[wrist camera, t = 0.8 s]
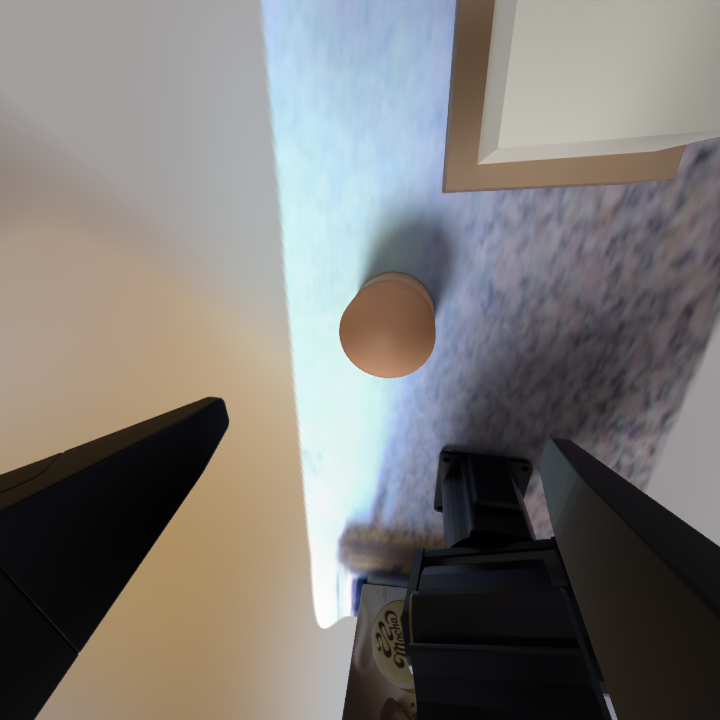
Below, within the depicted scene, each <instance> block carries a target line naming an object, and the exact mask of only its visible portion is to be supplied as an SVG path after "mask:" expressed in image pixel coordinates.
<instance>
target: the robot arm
mask: <svg viewBox="0 0 720 720" xmlns="http://www.w3.org/2000/svg"><path fill="white" fill-rule="evenodd" d="M228 426H229V418H228V414H227V409H226V405H225V402H224V400H223V399H222V398H217V397H206V398H204V399H201V400H199V401H196V402H193V403H191V404H188V405H185V406H183V407H180V408H177V409H175V410H172V411H169V412H167V413H164V414H162V415H159V416H156V417H154V418H151V419H148V420H146V421H143V422H140V423H138V424H135V425H132V426H130V427H127V428H125V429H122V430H119V431H117V432H114V433H112V434H109V435H106V436H103V437H101V438H98V439H96V440H93V441H90V442H88V443H85V444H83V445H80V446H77V447H75V448H72V449H69V450H67V451H65V452H64V453H58V454H56V455H53V456H50V457H48V458H45V459H43V460H40V461H37V462H34V463H32V464H29V465H26V466H23V467H21V468H18V469H15V470H13V471H10V472H7V473H4V474H1V475H0V720H34V719H35V718H36V717H37V715H38V713H39V712H40V711H41V709H42V708H43V706H44V705H45V703H46V702H47V700H48V699H49V698H50V696H51V695H52V693H53V692H54V690H55V689H56V687H57V686H58V684H59V683H60V681H61V680H62V678H63V677H64V676H65V674H66V673H67V671H68V669H69V668H70V667H71V665H72V664H73V662H74V661H75V659H76V658H77V656H78V653H79V652H80V651H81V650H82V649H83V647H84V646H85V644H86V643H87V641H88V640H89V639H90V637H91V636H92V634H93V633H94V631H95V630H96V628H97V627H98V625H99V624H100V622H101V621H102V620H103V618H104V617H105V615H106V614H107V612H108V611H109V609H110V608H111V606H112V605H113V603H114V602H115V600H116V599H117V597H118V596H119V594H120V593H121V592H122V590H123V589H124V587H125V586H126V584H127V583H128V582H129V580H130V578H131V577H132V576H133V574H134V573H135V571H136V570H137V568H138V567H139V565H140V564H141V563H142V561H143V559H144V558H145V557H146V555H147V554H148V552H149V551H150V549H151V548H152V546H153V545H154V543H155V542H156V541H157V539H158V537H159V536H160V535H161V533H162V532H163V530H164V529H165V527H166V526H167V524H168V523H169V522H170V520H171V519H172V517H173V516H174V514H175V513H176V511H177V510H178V508H179V507H180V505H181V504H182V502H183V501H184V500H185V498H186V497H187V495H188V494H189V492H190V491H191V489H192V488H193V486H194V485H195V484H196V482H197V481H198V479H199V478H200V476H201V475H202V473H203V471H204V470H205V468H206V466H207V465H208V463H209V461H210V459H211V457H212V456H213V454H214V452H215V450H216V448H217V447H218V445H219V443H220V441H221V439H222V438H223V436H224V434H225V432H226V430H227V428H228ZM444 457H448V458H444ZM523 466H526V467H523ZM539 469H540V475H541V479H542V484H543V488H544V493H545V497H546V502H547V506H548V511H549V515H550V520H551V524H552V528H553V531H554V535H555V537H551V539H541V540H536V537H535V534H534V530H533V527H532V524H531V521H530V518H529V515H528V512H527V509H526V506H525V503H524V500H523V499H524V496H525V492H526V489H527V486H528V483H529V480H530V476H531V473H532V470H533V467H532V465H531V463H530V461H528V460H525V459H516V458H507V457H498V456H488V455H479V454H470V453H461V452H452V451H443V452H441V453H440V455H439V463H438V472H437V480H436V489H435V498H434V509H435V510H436V511H438V512H443V522H444V541H445V548H441V549H430V550H425V549H416V552H415V557H414V561H413V564H412V569H411V573H410V578H409V583H408V587H407V592H406V597H405V601H404V606H403V611H402V615H401V624H402V628H401V637H402V640H403V642H404V647H405V654H406V658H407V662H408V666H409V669H410V672H411V674H412V676H413V678H414V686H415V695H416V707H417V720H612V718H611V716H610V713H609V710H608V707H607V705H606V701H605V699H604V696H609V697H610V699H611V702H612V704H613V707H614V710H615V713H616V716H617V719H618V720H720V547H719V546H718V545H717V544H715V543H714V542H712V541H711V540H710V539H708V538H707V537H705V536H704V535H703V534H701V533H700V532H698V531H697V530H695V529H694V528H693V527H691V526H690V525H688V524H687V523H686V522H684V521H683V520H681V519H680V518H679V517H677V516H676V515H674V514H673V513H672V512H670V511H669V510H667V509H666V508H665V507H663V506H662V505H660V504H659V503H658V502H656V501H655V500H653V499H652V498H650V497H649V496H648V495H646V494H645V493H644V492H642V491H641V490H639V489H638V488H637V487H635V486H634V485H632V484H631V483H630V482H628V481H627V480H625V479H624V478H623V477H621V476H620V475H618V474H617V473H616V472H614V471H613V470H611V469H610V468H609V467H607V466H606V465H604V464H603V463H601V462H600V461H599V460H597V459H596V458H594V457H593V456H592V455H590V454H589V453H587V452H586V451H585V450H583V449H582V448H580V447H579V446H578V445H576V444H575V443H573V442H572V441H571V440H569V439H564V438H555V437H551V438H549V439H548V440H547V443H546V445H545V448H544V451H543V454H542V457H541V460H540V464H539Z"/></svg>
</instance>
